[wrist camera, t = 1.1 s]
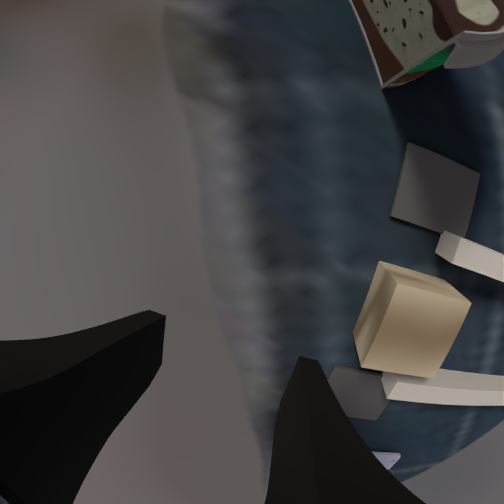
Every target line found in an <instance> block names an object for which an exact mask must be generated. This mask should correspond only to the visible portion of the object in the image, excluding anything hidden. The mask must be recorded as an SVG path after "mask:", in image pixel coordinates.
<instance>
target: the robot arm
mask: <svg viewBox="0 0 504 504" xmlns="http://www.w3.org/2000/svg"><path fill="white" fill-rule="evenodd" d="M165 320H166V316H165V315H162V314H159V313H157V312H154V311H151V310H147V311H143V312H140V313H137V314H133V315H130V316H128V317H124V318H121V319H118V320H115V321H112V322H109V323H106V324H103V325H99V326H96V327H92V328H89V329H85V330H81V331H77V332H74V333H69V334H64V335H59V336H54V337H47V338H40V339H30V340H10V341H0V504H73V502H74V499H75V497H76V495H77V493H78V491H79V489H80V487H81V485H82V483H83V481H84V479H85V477H86V475H87V474H88V472H89V470H90V468H91V466H92V464H93V463H94V461H95V459H96V457H97V456H98V454H99V452H100V451H101V449H102V447H103V446H104V444H105V442H106V441H107V439H108V438H109V436H110V435H111V434H112V432H113V431H114V429H115V428H116V427H117V426H118V424H119V423H120V422H121V421H122V419H123V418H124V417H125V416H126V414H127V413H128V412H129V411H130V410H131V408H132V407H133V406H134V405H135V403H136V402H137V401H138V400H139V398H140V397H141V396H142V394H143V393H144V392H145V391H146V389H147V388H148V387H149V385H150V384H151V382H152V380H153V379H154V377H155V375H156V373H157V372H158V370H159V368H160V366H161V364H162V354H163V341H164V330H165ZM400 457H401V456H400V453H390V452H373V451H371V450H370V449H369V448H368V446H367V445H366V444H365V443H364V441H363V440H362V438H361V437H360V436H359V434H358V433H357V431H356V430H355V428H354V427H353V425H352V424H351V422H350V421H349V419H348V417H347V416H346V414H345V412H344V410H343V409H342V407H341V405H340V403H339V401H338V400H337V398H336V396H335V394H334V392H333V390H332V388H331V386H330V384H329V382H328V380H327V378H326V376H325V374H324V372H323V370H322V367H321V365H320V364H319V362H318V361H317V360H313V359H309V358H304V357H300V356H299V358H298V360H297V363H296V365H295V368H294V370H293V373H292V375H291V378H290V380H289V383H288V385H287V388H286V390H285V392H284V395H283V397H282V399H281V402H280V406H279V411H278V415H277V420H276V424H275V430H274V440H273V449H272V459H271V468H270V477H269V485H268V491H267V496H266V500H265V504H426V503H424V502H423V501H422V500H420V499H419V498H418V497H417V496H415V495H414V494H412V492H410V491H409V490H408V489H407V488H406V487H405V486H404V485H402V484H401V483H400V482H399V481H398V480H397V479H396V478H395V477H394V476H393V475H392V474H391V473H390V472H389V471H388V470H389V469H390V468H391V467H392V466H393V465H394V464H395V463H396V462H397V461H398V460H399V458H400Z"/></svg>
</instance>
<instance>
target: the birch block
mask: <svg viewBox="0 0 504 504" xmlns="http://www.w3.org/2000/svg"><path fill="white" fill-rule="evenodd" d="M470 306H471V302H470V301H469V300H467V299H466V298H465V297H464V296H463V295H462V294H461V293H460V292H458V291H457V290H456V289H455V288H454V287H453V286H451V285H450V284H449V283H448V282H447V281H445V280H444V279H441V278H437V277H434V276H430V275H427V274H424V273H420V272H417V271H413V270H410V269H406V268H403V267H399V266H396V265H392V264H389V263H385V262H382V261H379V263H378V266H377V269H376V272H375V275H374V278H373V281H372V284H371V286H370V289H369V292H368V295H367V297H366V300H365V303H364V305H363V308H362V311H361V313H360V316H359V318H358V321H357V323H356V326H355V328H354V331H353V336H354V340H355V344H356V348H357V352H358V356H359V360H360V364H361V367H363V368H368V369H374V370H380V371H386V372H392V373H399V374H405V375H412V376H420V377H427V378H434V376H435V375H436V373H437V371H438V369H439V368H440V366H441V364H442V362H443V361H444V359H445V357H446V355H447V353H448V352H449V350H450V348H451V346H452V344H453V342H454V340H455V338H456V336H457V334H458V332H459V330H460V328H461V326H462V324H463V321H464V319H465V317H466V315H467V313H468V310H469V308H470Z"/></svg>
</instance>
